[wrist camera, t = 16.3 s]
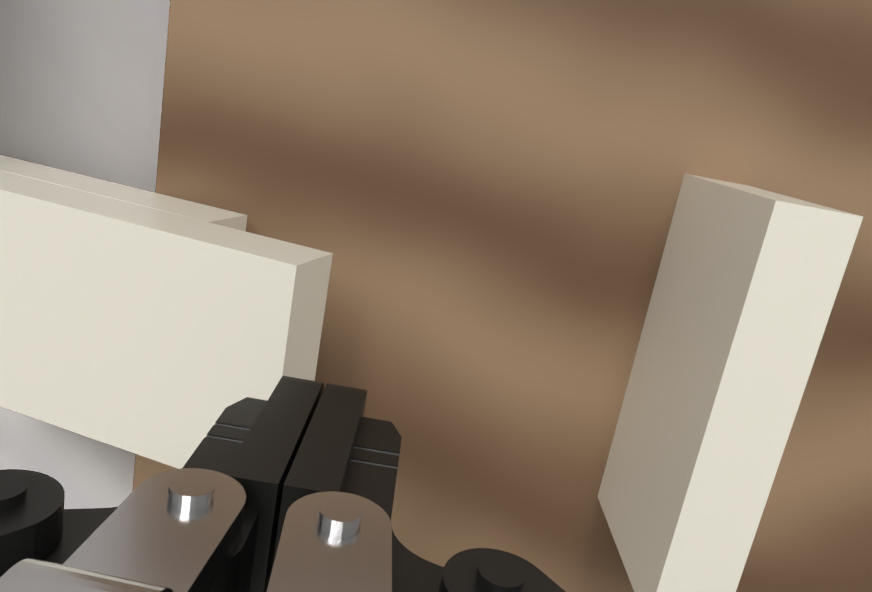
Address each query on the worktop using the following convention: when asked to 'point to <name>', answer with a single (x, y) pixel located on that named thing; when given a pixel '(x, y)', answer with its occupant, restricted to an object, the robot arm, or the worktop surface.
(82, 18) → the worktop surface
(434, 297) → the cutting board
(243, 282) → the domino
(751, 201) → the domino
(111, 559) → the robot arm
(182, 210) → the domino
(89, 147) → the worktop surface
